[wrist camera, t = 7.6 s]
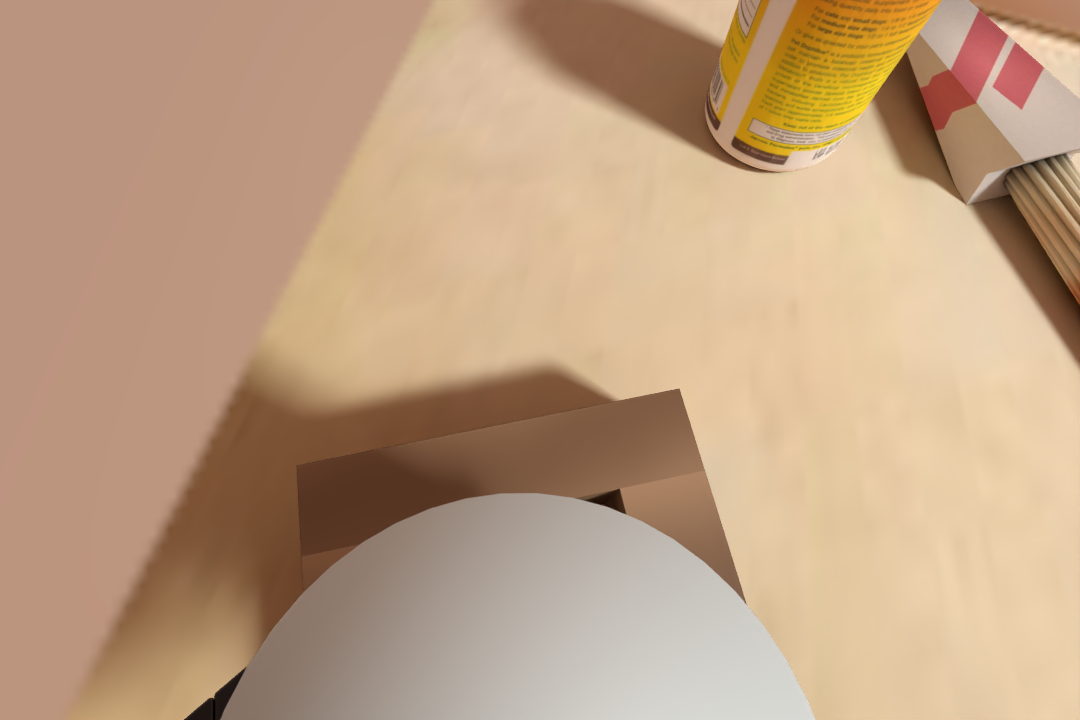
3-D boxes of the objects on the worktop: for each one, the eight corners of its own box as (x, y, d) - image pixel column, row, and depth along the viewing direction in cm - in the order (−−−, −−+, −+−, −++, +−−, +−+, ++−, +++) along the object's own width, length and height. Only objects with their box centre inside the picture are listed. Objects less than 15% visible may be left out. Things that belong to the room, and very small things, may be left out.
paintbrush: (985, -60, 22) (1326, 425, 16) (936, 5, 24) (1213, 442, 18) (895, -44, 21) (1210, 458, 15) (856, 19, 24) (1111, 470, 18)
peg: (626, 697, 14) (1007, 1229, 3) (467, 736, 14) (140, 1524, 2) (588, 533, 16) (734, 428, 4) (444, 565, 16) (170, 545, 4)
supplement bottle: (868, 146, 22) (1123, -182, 12) (753, 200, 21) (934, -110, 11) (783, 54, 24) (949, -297, 14) (673, 100, 23) (772, -242, 13)
